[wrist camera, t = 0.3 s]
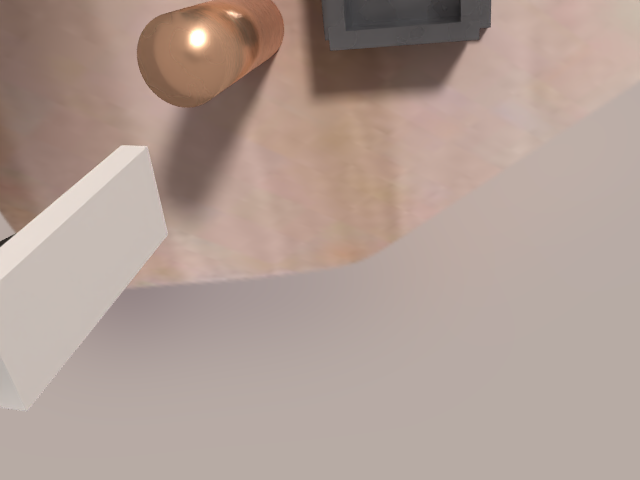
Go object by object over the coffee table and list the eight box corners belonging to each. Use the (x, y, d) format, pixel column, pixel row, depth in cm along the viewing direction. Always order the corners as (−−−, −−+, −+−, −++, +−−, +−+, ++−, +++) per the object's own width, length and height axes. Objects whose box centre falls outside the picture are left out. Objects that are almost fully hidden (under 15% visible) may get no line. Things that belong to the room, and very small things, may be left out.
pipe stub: (213, -6, 38) (127, 16, 28) (279, -12, 38) (216, 8, 27) (224, 64, 40) (148, 109, 30) (287, 60, 40) (232, 104, 29)
